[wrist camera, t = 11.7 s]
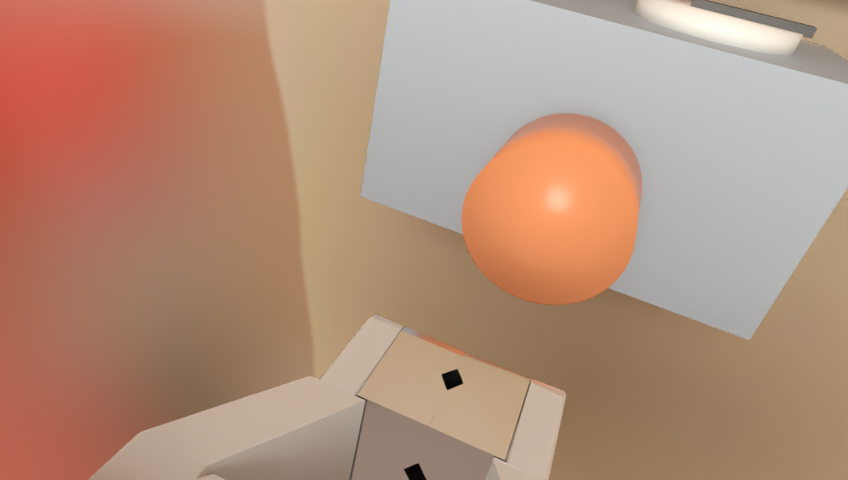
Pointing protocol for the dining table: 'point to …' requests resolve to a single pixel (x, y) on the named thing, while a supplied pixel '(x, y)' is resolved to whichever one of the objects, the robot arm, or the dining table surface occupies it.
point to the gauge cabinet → (629, 129)
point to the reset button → (555, 210)
